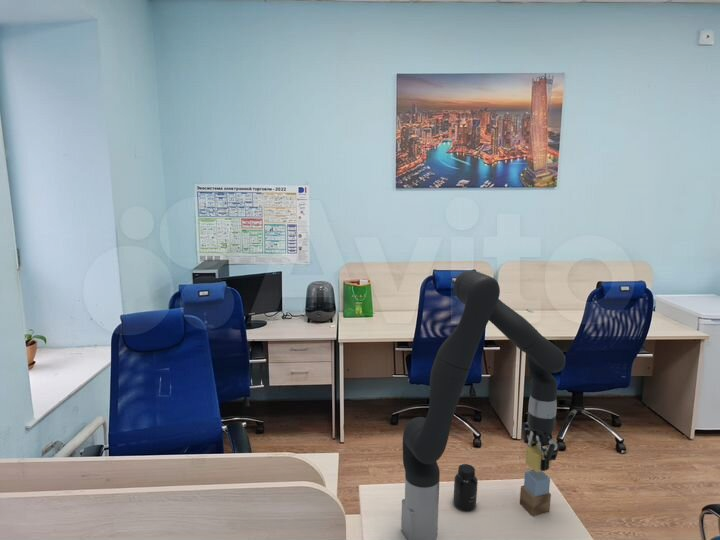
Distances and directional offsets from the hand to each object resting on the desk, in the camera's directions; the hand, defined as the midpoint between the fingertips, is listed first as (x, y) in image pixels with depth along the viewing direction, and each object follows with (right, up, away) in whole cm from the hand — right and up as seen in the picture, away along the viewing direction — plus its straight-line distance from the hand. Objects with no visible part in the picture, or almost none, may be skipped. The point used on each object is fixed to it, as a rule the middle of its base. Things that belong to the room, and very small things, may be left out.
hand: (537, 464), depth 147 cm
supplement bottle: (-21, -14, +4) cm, 25 cm away
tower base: (0, -14, +3) cm, 14 cm away
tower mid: (0, -8, +2) cm, 8 cm away
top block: (0, 0, 0) cm, 0 cm away
